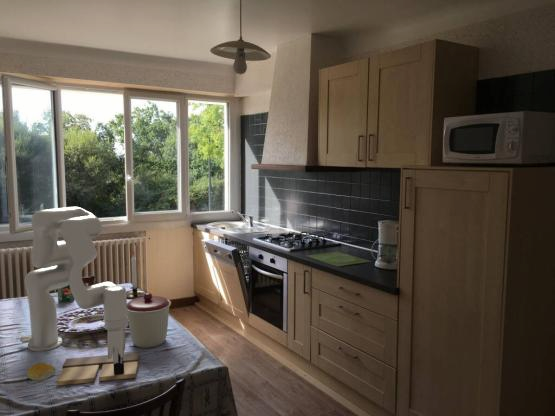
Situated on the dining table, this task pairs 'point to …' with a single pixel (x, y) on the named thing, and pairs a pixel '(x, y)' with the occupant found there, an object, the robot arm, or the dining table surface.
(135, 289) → the candlestick
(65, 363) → the walnut floor strip
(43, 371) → the bread roll
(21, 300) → the dining table surface
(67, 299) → the canned tomato
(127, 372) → the oak plank right
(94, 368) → the oak plank left
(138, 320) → the canister
